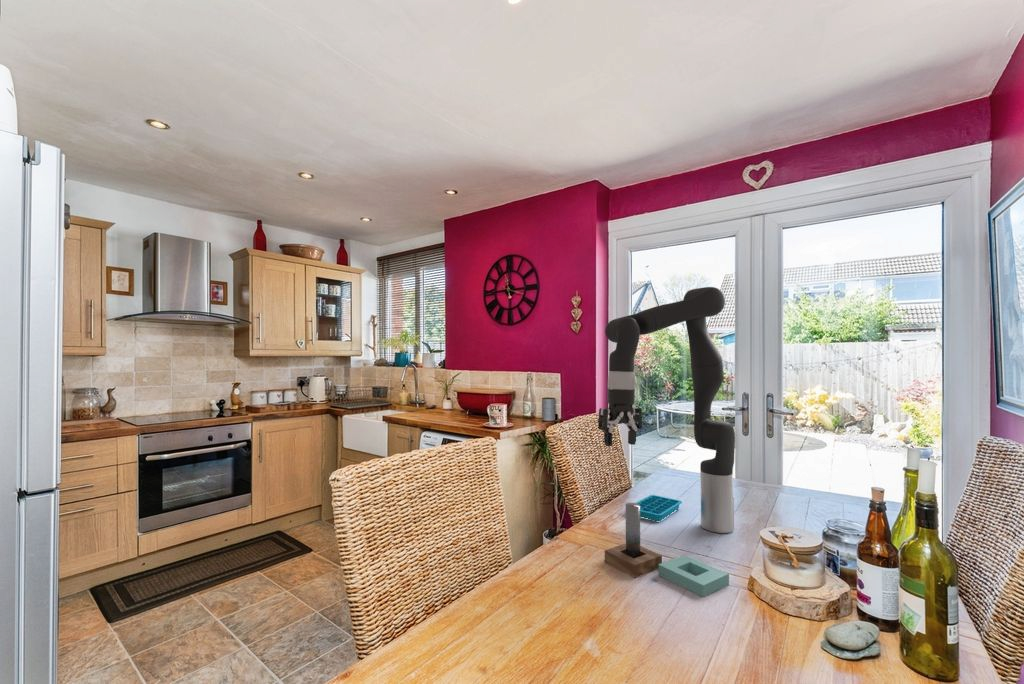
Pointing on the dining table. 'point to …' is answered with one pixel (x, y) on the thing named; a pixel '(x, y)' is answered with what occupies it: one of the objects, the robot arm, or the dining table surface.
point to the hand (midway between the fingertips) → (620, 445)
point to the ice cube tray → (657, 507)
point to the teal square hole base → (700, 584)
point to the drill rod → (633, 530)
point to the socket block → (633, 560)
